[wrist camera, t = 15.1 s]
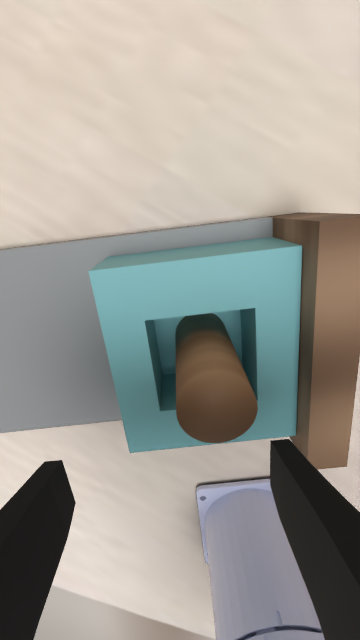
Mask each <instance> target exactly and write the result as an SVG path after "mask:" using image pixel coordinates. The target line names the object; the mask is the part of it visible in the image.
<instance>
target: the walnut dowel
mask: <svg viewBox="0 0 360 640" xmlns="http://www.w3.org/2000/svg"><path fill="white" fill-rule="evenodd" d="M175 343H176V415H177V420H178V422H179V425H180V426H181V428H182V429H183V430H184V431H185V432H186V433H187V434H188V435H189V436H191V437H192V438H194V439H196V440H199V441H202V442H206V443H223V442H228V441H231V440H233V439H236V438H238V437H239V436H241V435H242V434H244V433H245V432H246V431H247V430H248V429H249V428H250V427H251V426H252V424H253V423H254V421H255V419H256V416H257V411H258V405H257V400H256V397H255V394H254V392H253V390H252V387H251V385H250V383H249V381H248V378H247V376H246V374H245V371H244V369H243V367H242V364H241V362H240V360H239V357H238V355H237V353H236V351H235V348H234V346H233V344H232V341H231V339H230V337H229V334H228V332H227V330H226V327H225V325H224V323H223V321H222V320H221V319H220V318H219V317H218V316H217V315H215V314H213V313H207V314H198V315H189V316H185V317H184V318H182V320H181V321H180V322H179V324H178V326H177V328H176V333H175Z"/></svg>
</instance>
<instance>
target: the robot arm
mask: <svg viewBox="0 0 360 640" xmlns="http://www.w3.org/2000/svg"><path fill="white" fill-rule="evenodd" d="M196 496H197V504H198V511H199V519H200V527H201V534H202V542H203V549H204V557H205V562H206V563H207V564H209V571H210V582H211V592H212V602H213V612H214V622H215V633H216V640H360V512H359V511H358V510H357V509H356V508H355V507H354V506H352V505H351V504H350V503H349V502H348V501H347V500H346V499H345V498H344V497H343V496H342V495H341V494H340V493H339V492H338V491H337V490H336V489H335V488H334V487H333V486H332V485H331V484H330V483H329V482H328V481H327V480H326V479H325V478H324V477H323V476H322V475H321V473H320V472H319V471H318V470H317V469H316V468H315V467H314V466H313V465H312V464H311V463H310V462H309V461H308V459H307V458H306V457H305V456H304V455H303V454H302V453H301V452H300V451H299V449H298V448H297V447H296V446H295V445H294V444H293V443H292V442H291V441H290V440H289V439H284V440H274V441H271V451H270V479H260V480H250V481H240V482H231V483H221V484H211V485H201V486H199V487H197V488H196ZM74 507H75V500H74V496H73V493H72V490H71V487H70V484H69V481H68V478H67V474H66V471H65V468H64V465H63V462H62V460H59V461H48V462H44V463H43V464H42V465H41V466H40V467H39V468H38V469H37V470H36V472H35V473H34V474H33V475H32V476H31V477H30V478H29V479H28V480H27V481H26V483H25V484H24V485H23V486H22V487H21V488H20V489H19V490H18V491H17V492H16V494H15V495H14V496H13V497H12V498H11V499H10V500H9V501H8V502H7V503H6V504H5V505H4V507H3V508H2V509H1V510H0V640H33V639H34V636H35V632H36V629H37V626H38V623H39V620H40V617H41V614H42V611H43V608H44V605H45V602H46V599H47V596H48V594H49V591H50V588H51V585H52V582H53V579H54V576H55V573H56V570H57V567H58V564H59V562H60V559H61V556H62V553H63V550H64V547H65V544H66V541H67V537H68V534H69V529H70V525H71V521H72V516H73V512H74Z"/></svg>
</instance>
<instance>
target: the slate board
mask: <svg viewBox="0 0 360 640" xmlns="http://www.w3.org/2000/svg"><path fill="white" fill-rule="evenodd" d="M300 214H305V213H300ZM291 215H296V214H291ZM286 216H288V215H286ZM267 237H273V217H261V218H252V219H244V220H236V221H228V222H220V223H211V224H203V225H195V226H187V227H179V228H170V229H162V230H154V231H146V232H138V233H130V234H121V235H113V236H105V237H97V238H89V239H80V240H72V241H64V242H56V243H48V244H39V245H31V246H23V247H15V248H7V249H0V433H5V432H15V431H24V430H33V429H43V428H52V427H61V426H71V425H80V424H89V423H99V422H108V421H117V420H122V416H121V412H120V407H119V403H118V399H117V394H116V390H115V386H114V381H113V377H112V372H111V368H110V364H109V359H108V355H107V351H106V346H105V342H104V337H103V333H102V329H101V324H100V320H99V316H98V311H97V307H96V302H95V298H94V294H93V289H92V285H91V281H90V276H89V272H88V271H89V270H91V269H92V268H93V267H95V266H96V265H97V264H99V263H100V262H102V261H103V260H104V259H106V258H107V257H110V256H118V255H126V254H134V253H143V252H151V251H159V250H168V249H176V248H184V247H193V246H201V245H209V244H218V243H226V242H234V241H242V240H251V239H259V238H267Z"/></svg>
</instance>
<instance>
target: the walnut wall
mask: <svg viewBox="0 0 360 640" xmlns="http://www.w3.org/2000/svg"><path fill="white" fill-rule="evenodd" d="M293 214H296V215H291V214H285V215H277V216H269V217H273V237H274V238H278V239H281V240H285V241H288V242H292V243H295V244H299V245H302V269H301V300H300V330H299V361H298V391H297V421H296V436H290V438H291V440H292V442H293V444H294V445H295V446H296V447H297V448H298V449H299V451H300V452H301V453H302V454H303V455H304V456H305V457H306V458H307V459H308V461H309V462H310V463H311V464H312V465H313V466H314V467H315V468H316V469H326V468H336V467H346V466H347V460H348V451H349V442H350V434H351V425H352V417H353V408H354V399H355V391H356V382H357V374H358V365H359V356H360V214H335V213H305V214H300V213H293ZM286 215H288V216H286Z"/></svg>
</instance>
